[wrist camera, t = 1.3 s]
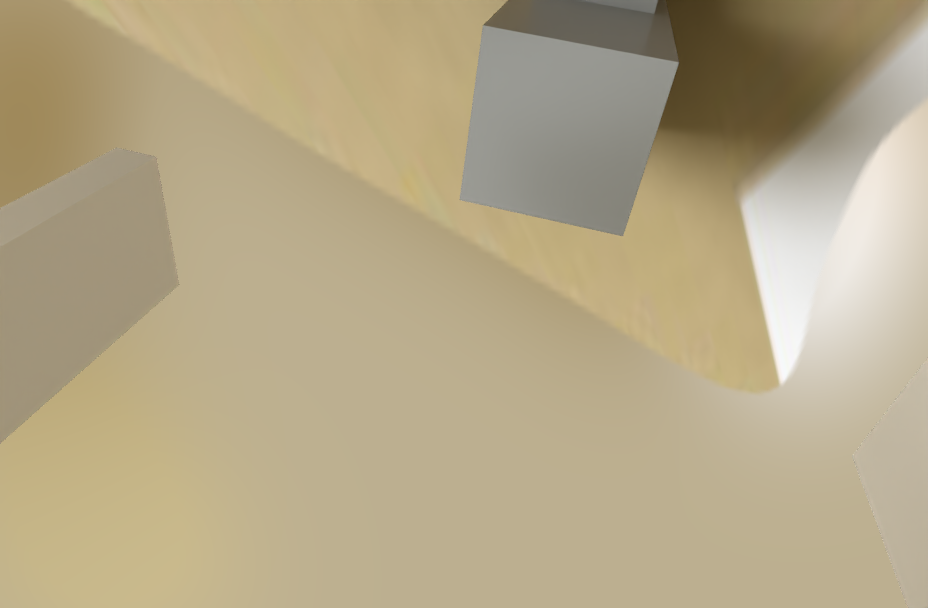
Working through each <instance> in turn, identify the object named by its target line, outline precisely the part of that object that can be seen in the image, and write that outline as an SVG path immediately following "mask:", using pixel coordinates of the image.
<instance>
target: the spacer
mask: <svg viewBox="0 0 928 608" xmlns="http://www.w3.org/2000/svg"><path fill="white" fill-rule="evenodd" d="M678 64H679V60H678V55H677V50H676V45H675V40H674V36H673V31H672V26H671V21H670V17H669V12H668V7H667V2H666V0H508V1H507V2H506V3H505V4H504V5H503V6H502V7H501V8H500V9H499V10H498V11H497V12H496V13H495V14H494V15H493V16H492V17H491V18H490V19H489V20H488V21H487V22H486V23H485V24H484V25H483V30H482V37H481V45H480V52H479V59H478V67H477V74H476V82H475V89H474V97H473V104H472V112H471V119H470V127H469V134H468V142H467V149H466V156H465V164H464V171H463V179H462V186H461V194H460V200H462V201H467V202H471V203H476V204H480V205H485V206H489V207H494V208H498V209H503V210H507V211H512V212H516V213H521V214H525V215H530V216H534V217H539V218H543V219H548V220H552V221H557V222H561V223H565V224H570V225H574V226H579V227H583V228H588V229H592V230H597V231H601V232H606V233H610V234H615V235H619V236H623V234H624V231H625V228H626V225H627V222H628V219H629V216H630V213H631V210H632V207H633V203H634V200H635V197H636V194H637V191H638V188H639V185H640V182H641V179H642V176H643V173H644V169H645V166H646V163H647V160H648V157H649V154H650V151H651V148H652V145H653V142H654V138H655V135H656V132H657V129H658V126H659V123H660V120H661V117H662V114H663V111H664V108H665V104H666V101H667V98H668V95H669V92H670V89H671V86H672V83H673V80H674V77H675V74H676V70H677V67H678Z"/></svg>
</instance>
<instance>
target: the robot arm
mask: <svg viewBox="0 0 928 608" xmlns="http://www.w3.org/2000/svg"><path fill="white" fill-rule="evenodd" d="M178 285H179V281H178V275H177V270H176V264H175V259H174V254H173V248H172V242H171V236H170V231H169V225H168V220H167V214H166V209H165V203H164V198H163V192H162V187H161V181H160V175H159V170H158V165H157V159H156V157H155V156H151V155H146V154H142V153H138V152H133V151H129V150H124V149H120V148H115V149H113V150H111V151H109V152H107V153H106V154H104V155H102V156H100V157H98V158H96V159H94V160H92V161H90V162H88V163H86V164H84V165H83V166H80V167H79V168H77V169H75V170H73V171H71V172H69V173H67V174H65V175H63V176H61V177H59V178H57V179H55V180H53V181H52V182H50V183H48V184H46V185H44V186H42V187H40V188H38V189H36V190H34V191H32V192H30V193H28V194H26V195H24V196H23V197H21V198H19V199H17V200H15V201H13V202H11V203H9V204H7V205H5V206H3V207H1V208H0V443H1V442H2V441H4V440H5V439H6V438H7V437H8V436H9V435H10V434H11V433H13V432H14V431H15V430H16V429H17V428H18V427H19V426H20V425H22V424H23V423H24V422H25V421H26V420H27V419H28V418H29V417H31V416H32V415H33V414H34V413H35V412H36V411H37V410H39V409H40V408H41V407H42V406H43V405H44V404H45V403H46V402H48V401H49V400H50V399H51V398H52V397H53V396H54V395H55V394H57V393H58V392H59V391H60V390H61V389H62V388H63V387H64V386H66V385H67V384H68V383H69V382H70V381H71V380H72V379H73V378H75V377H76V376H77V375H78V374H79V373H80V372H81V371H83V370H84V369H85V368H86V367H87V366H88V365H89V364H90V363H91V362H92V361H94V360H95V359H96V358H97V357H98V356H99V355H101V354H102V353H103V352H104V351H105V350H106V349H107V348H108V347H110V346H111V345H112V344H113V343H114V342H115V341H116V340H117V339H119V338H120V337H121V336H122V335H123V334H124V333H125V332H126V331H128V330H129V329H130V328H131V327H132V326H133V325H134V324H136V323H137V322H138V321H139V320H140V319H141V318H142V317H143V316H145V315H146V314H147V313H148V312H149V311H150V310H151V309H152V308H153V307H155V306H156V305H157V304H158V303H159V302H160V301H161V300H163V299H164V298H165V297H166V296H167V295H168V294H169V293H170V292H172V291H173V290H174V289H175V288H176V287H177V286H178ZM852 457H853V460H854V463H855V465H856V468H857V471H858V474H859V476H860V479H861V482H862V485H863V487H864V490H865V492H866V495H867V498H868V501H869V504H870V506H871V509H872V512H873V514H874V517H875V520H876V523H877V525H878V528H879V531H880V534H881V536H882V539H883V541H884V544H885V547H886V550H887V553H888V555H889V558H890V561H891V564H892V566H893V569H894V572H895V574H896V577H897V580H898V583H899V585H900V588H901V591H902V594H903V596H904V599H905V602H906V604H907V607H908V608H928V358H927V359H926V360H925V362H924V363H923V364H922V366H921V367H920V368H919V370H918V371H917V372H916V374H915V375H914V376H913V377H912V379H911V380H910V381H909V383H908V384H907V385H906V387H905V388H904V389H903V391H902V392H901V393H900V394H899V396H898V397H897V398H896V399H895V401H894V402H893V404H892V405H891V406H890V407H889V409H888V410H887V411H886V413H885V414H884V415H883V417H882V418H881V419H880V420H879V422H878V423H877V424H876V426H875V427H874V428H873V430H872V431H871V432H870V434H869V435H868V436H867V437H866V439H865V440H864V441H863V443H862V444H861V445H860V447H859V448H858V449H857V451H856V452H855V453H854V454H853V456H852Z"/></svg>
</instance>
